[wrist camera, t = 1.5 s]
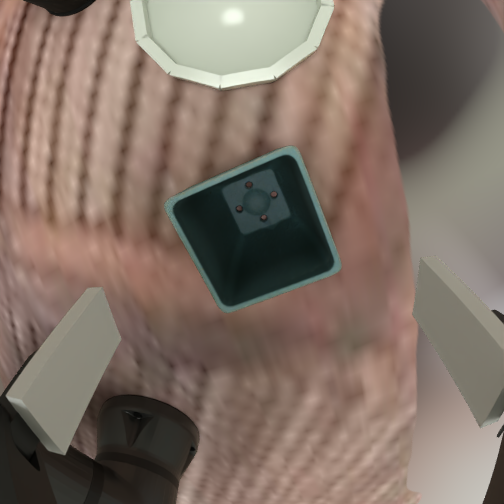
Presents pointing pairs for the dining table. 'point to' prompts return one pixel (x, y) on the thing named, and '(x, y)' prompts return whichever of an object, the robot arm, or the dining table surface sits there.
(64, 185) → the dining table surface
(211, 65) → the saucer
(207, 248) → the flower pot
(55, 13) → the aerosol can
